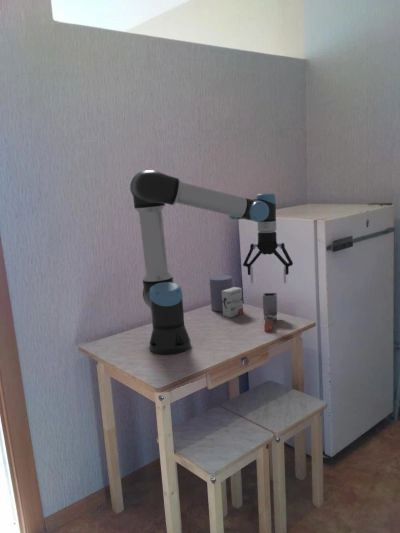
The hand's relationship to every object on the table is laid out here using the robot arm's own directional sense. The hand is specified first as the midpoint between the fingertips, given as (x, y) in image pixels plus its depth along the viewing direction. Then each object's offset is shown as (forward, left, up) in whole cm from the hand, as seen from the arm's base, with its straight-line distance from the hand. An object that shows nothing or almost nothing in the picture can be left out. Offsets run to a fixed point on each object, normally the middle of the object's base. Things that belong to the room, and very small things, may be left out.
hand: (268, 282), depth 197 cm
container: (-23, +18, -17) cm, 33 cm away
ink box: (-17, +8, -17) cm, 25 cm away
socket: (0, 0, -13) cm, 13 cm away
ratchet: (0, -6, -16) cm, 17 cm away
